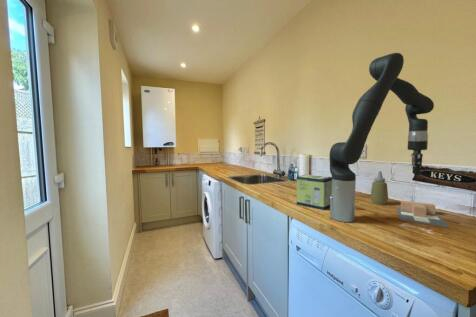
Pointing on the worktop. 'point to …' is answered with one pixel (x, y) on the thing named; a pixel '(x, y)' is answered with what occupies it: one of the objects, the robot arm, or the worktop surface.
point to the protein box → (314, 191)
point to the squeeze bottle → (379, 190)
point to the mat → (422, 218)
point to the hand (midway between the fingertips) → (416, 174)
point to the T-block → (418, 208)
